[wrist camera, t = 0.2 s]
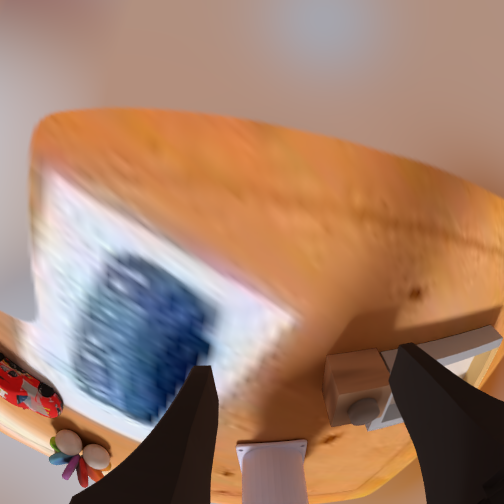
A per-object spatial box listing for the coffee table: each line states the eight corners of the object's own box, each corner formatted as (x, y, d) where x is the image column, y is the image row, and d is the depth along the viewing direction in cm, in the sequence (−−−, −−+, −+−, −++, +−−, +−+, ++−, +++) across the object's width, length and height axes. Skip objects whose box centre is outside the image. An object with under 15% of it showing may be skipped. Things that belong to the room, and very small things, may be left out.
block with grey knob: (366, 381, 25) (384, 425, 19) (321, 389, 25) (333, 436, 19) (375, 347, 23) (399, 393, 18) (326, 354, 23) (342, 405, 18)
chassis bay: (462, 384, 26) (471, 397, 24) (361, 413, 27) (367, 431, 24) (490, 324, 23) (503, 337, 21) (380, 352, 23) (390, 371, 21)
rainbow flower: (108, 465, 33) (98, 500, 26) (54, 437, 31) (39, 471, 24) (119, 450, 30) (108, 492, 24) (57, 418, 28) (38, 457, 21)
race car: (67, 393, 26) (55, 418, 22) (64, 412, 28) (54, 435, 24) (-16, 334, 23) (-33, 354, 19) (-13, 359, 25) (-27, 377, 21)
